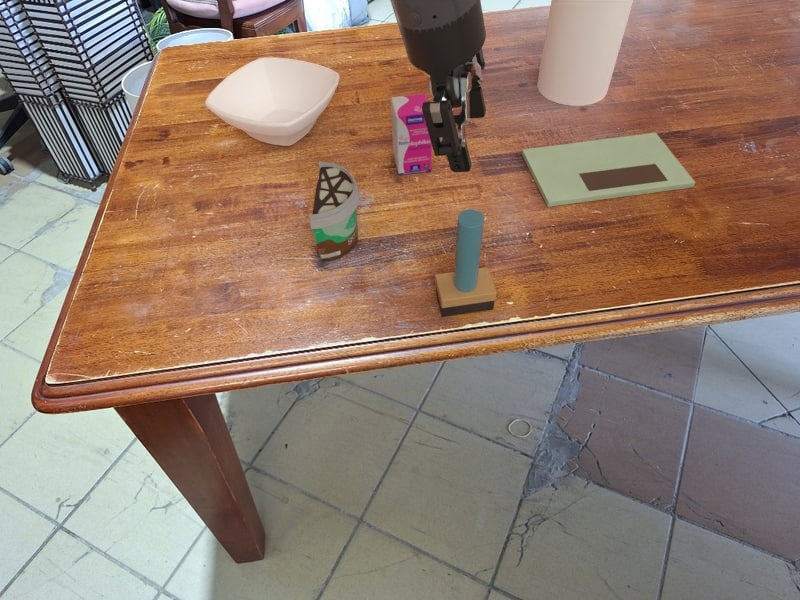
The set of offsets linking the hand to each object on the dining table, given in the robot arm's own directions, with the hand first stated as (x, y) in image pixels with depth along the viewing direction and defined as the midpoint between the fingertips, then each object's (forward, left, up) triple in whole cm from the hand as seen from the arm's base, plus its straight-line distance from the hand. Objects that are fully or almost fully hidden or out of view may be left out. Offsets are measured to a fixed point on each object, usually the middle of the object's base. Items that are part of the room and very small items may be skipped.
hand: (469, 141), depth 59 cm
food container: (+16, -9, -21) cm, 28 cm away
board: (-28, -17, -21) cm, 39 cm away
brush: (+1, +6, -21) cm, 22 cm away
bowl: (+25, -40, -21) cm, 52 cm away
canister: (-32, -43, -21) cm, 58 cm away
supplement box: (+3, -25, -21) cm, 33 cm away
